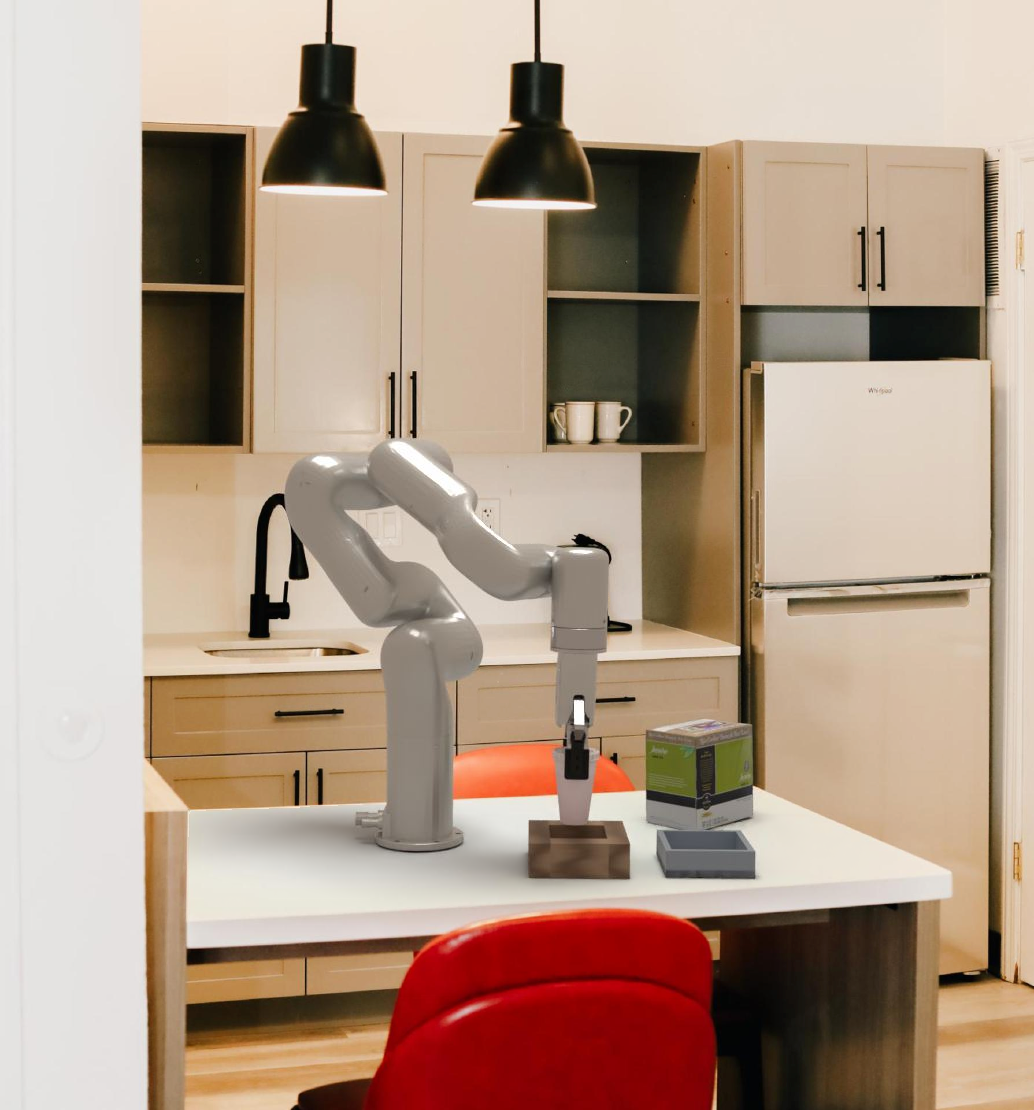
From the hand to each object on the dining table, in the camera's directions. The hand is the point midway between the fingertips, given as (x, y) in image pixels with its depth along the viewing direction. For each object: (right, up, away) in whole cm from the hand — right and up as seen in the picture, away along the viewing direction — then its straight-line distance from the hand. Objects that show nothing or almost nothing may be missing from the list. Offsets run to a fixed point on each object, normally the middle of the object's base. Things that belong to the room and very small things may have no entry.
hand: (575, 772), depth 180 cm
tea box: (+20, -12, +27) cm, 36 cm away
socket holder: (0, -12, 0) cm, 12 cm away
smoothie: (0, -7, 0) cm, 7 cm away
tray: (+17, -13, 0) cm, 21 cm away
